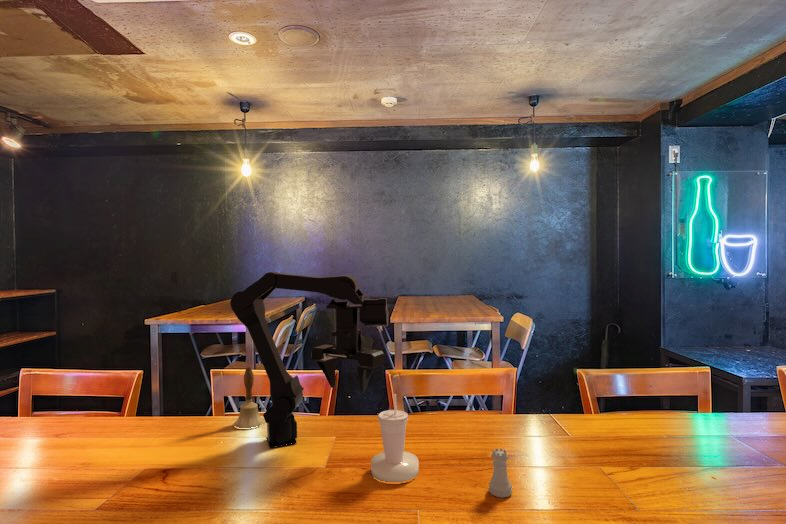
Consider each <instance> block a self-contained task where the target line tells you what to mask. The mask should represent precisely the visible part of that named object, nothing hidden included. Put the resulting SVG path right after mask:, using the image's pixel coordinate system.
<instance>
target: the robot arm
mask: <svg viewBox="0 0 786 524" xmlns="http://www.w3.org/2000/svg"><path fill="white" fill-rule="evenodd" d="M276 289H281V290H290V291H301V292H310V293H311V292H312V293H318V294H322V295H325V296H327V297H330V298H332V299H331V301H330V302H329V303H328V304H327V305H326V306H325V309H327V310H328V309H329V310H330V309H332V310H333V309H334V310H333V311H334V331H331V336H332V337H334V338H335V339H334V344H335V345H333V344H322V345H319V346H314V347H313V348H312V350H311V353H310V355H311V360H315V363H316V364H317V365H318V366H319V368H320V369H321V371H322V373H323V374H324V376H325V378H326V380H327V381H328V384H329V386H330V388H332V389H334V388H335V387H336V366H337V365H336V364H337V361H338V359H346V360H355V361H357V363H358V364H359V365H357V367H356V368H357V369H356V370H357V376H358V382H359V390H360V393H361V394H364V393H366V390H367V387H368V384H369V381H370V378H371V375H372V373H373V371H374V369H375V368H377V367H379V366H380V365H381V364H383V363H385V362H386V360H385V357H386V356H385V353H384V352H383V350H381V349H380V350H379V349H372V348H373V347H372V346H373V342H374V340H373V339H374V338H371V337H368V336H364V335H363V331H362V329H359V322H360V323H361V324H363V325H364V327H388V326H389V316H390V315H389V310H388V300H387V298H386V297H384V298H383V297H381V298H370V299H369V298H367V297H366V296H365V294H364V293H363V291H361V289H360V284H359V281H358V280H357V278H356V277H355V276H353V275H350V274H344V275H334V276H333V275H332V276H312V275H303V274H302V275H301V274H293V273H284V272H283V273H281V272H277V271H269V272H266V273H264V274H263V275H262V277H260V278H259V279H258V280H256V281H255V282H254V283H252V284H250V285H249V286H247V287H246V288H245V289H244V290H241V291H237V292H235V293H234V294H233V295H232V297H231V300H230V301H229V306H230V308H231V310H232V312H233V314H234V316H236V318H237V320H239V322H240V323H241V324H242V325H243V326H245V328H246V329H247V330H248V333H249V335H250V338H251V340H252V342H253V345H254V347H255V349H256V352H257V354H258V357H259V359H260V361H261V364H262V367H263V369H264V371H265V373H266V375H267V378H268V381H269V395H270V399H271V406H270V407H269V408H268V409H267V410H266V411H265V412H264V413H263V414H262V416H263V417H262V418H263V420H264V421H265V423H266V429H267V430H266V431H267V432H266V433H267V434H266V435H267V436H266V437H265V438H266V439H267V440H266V441H267V442H268V443H267V445H268V444H269V445H268V448H269V447H275V446H280V447H282V446H281V445H286V444H291V443H296V442H297V438H298V421H297V420H296V418H295V415H294V412H295V411H296V409H297V408H298V406H300V404H301V402H302V401H303V399H304V393H303V391H304V390H305V388H304V387H303V386H302V384H301V382H300V379H299V376H298V375H295V376H294V377H293V376H291V374H289V373H288V371H287V369H286V366H285V363H284V362H283V360H282V357H281V354H280V353H279V351H278V350H279V349H278V348H277V346H276V343H275V340H274V338H273V336H272V333H271V331H270V328H269V326H268V323H267V321H266V308H265V303H264V301H265V300H266V299H267V298H268V297H270V295H271V294H272V293H273V292H274V291H275V290H276ZM338 300H339V301H338ZM341 300H342V301H341ZM297 443H298V442H297ZM297 443H296V444H297ZM291 445H292V444H291ZM286 446H287V445H286ZM275 448H276V447H275Z"/></svg>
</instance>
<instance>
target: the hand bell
mask: <svg viewBox="0 0 786 524" xmlns="http://www.w3.org/2000/svg"><path fill="white" fill-rule="evenodd" d="M253 372H254V371H253V369H252V367H251V366H246V367H245V371H244V374H243V383H244V387H245V402H243V404H241V405H240V410H239V415H238V416H237V417H238V418H237V419H236V421H235V422H233V425H234V426H236V427H239V428H251V427H256V426H260V425H262V424H264V425H265V423H266V422H265V419H264V418H263V417H261V414H260V413H259V408H258V404H257V403H255V402H253V386H254V380H255V379H254V378H255V376H254V373H253Z"/></svg>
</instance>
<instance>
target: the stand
mask: <svg viewBox="0 0 786 524" xmlns="http://www.w3.org/2000/svg"><path fill="white" fill-rule="evenodd" d="M419 464H420V462H419V458H418V456H417V455H415V454H413V453H412V452H408V451H405V450H404V454H403V461H402V462H401V463H399V464H388V463H386V461H385V454H384V451H382V452H380V453H378V454H376V455H374V456H372V459H371V460H370V472H371V473H370V475H371V474H372V475H371V477H372V476H373V477H375V478H376V479H378V480H380V481H385V482H403V481H407V480H411V479H412V478H414V477H416V476H417V475H418V472H419V471H420V469H419ZM419 473H420V472H419ZM418 476H419V475H418ZM373 477H372V478H373Z"/></svg>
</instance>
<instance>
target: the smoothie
mask: <svg viewBox="0 0 786 524" xmlns="http://www.w3.org/2000/svg"><path fill="white" fill-rule="evenodd" d="M397 402H398V401H397V394H396V393H394V394H393V409H388V410H387V409H386V410H383V411H381V412H378V414H377V416H378V418H377V421H378V422H379V424H380V434H381V438H382V439H381V440H382V446H383V452H384V454H385V461H386V463H388V464H399V463H401V462H402V461H403V454H404V451H405V441H406V433H407V430H406V429H407V422H408V421H409V414H408V413H407V412H406V411H403V410H400V409H398V408H397V407H398V406H397Z"/></svg>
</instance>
